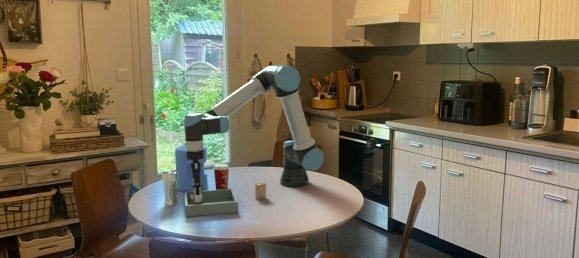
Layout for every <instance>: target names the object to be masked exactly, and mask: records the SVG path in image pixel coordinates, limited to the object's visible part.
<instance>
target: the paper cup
mask: <svg viewBox="0 0 579 258" xmlns="http://www.w3.org/2000/svg"><path fill="white" fill-rule="evenodd" d="M212 168H213V172H214V181H215V182H214V183H215V190H220V189H229V170H230V167H229V164H226V163H216V164H214V166H213V167H212Z"/></svg>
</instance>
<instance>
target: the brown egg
mask: <svg viewBox="0 0 579 258" xmlns="http://www.w3.org/2000/svg"><path fill="white" fill-rule="evenodd" d="M254 185H255V186H254V187H255V200H256V201H257V200H258V201H263V200H266V199H267V184H266V182H256V183H255V184H254Z"/></svg>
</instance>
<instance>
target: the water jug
mask: <svg viewBox="0 0 579 258" xmlns="http://www.w3.org/2000/svg"><path fill="white" fill-rule="evenodd" d="M203 150H204V158H203V159H199V160H198V162H200V185H201V191H205V190H207V188H208V186H209V183H208V173H207V172H205V164H206V162H207V156H208V155H207V154H208V153H207V151H208V150H207V147H206V146H204V148H203ZM186 151H187V149H186V145H184V143H183V144H181V145H179V146H177V147H176V148H175V150H174V157H175V171H177V173H178V191H180V192H183V193H185V192H192V191H194V188H193V173H192V168H191V162H192V160H188V159H187V158H186Z"/></svg>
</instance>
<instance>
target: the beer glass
mask: <svg viewBox="0 0 579 258" xmlns="http://www.w3.org/2000/svg"><path fill="white" fill-rule="evenodd" d="M161 176H162V177H161V180H162V189H163V192H164V205H165V206H166V207H172V206H173V207H174V206H177V205H179V200H178V191H179V190H178V173H177V171H176V169H175V170H174V169H170V170H164V171H162V175H161Z"/></svg>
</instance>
